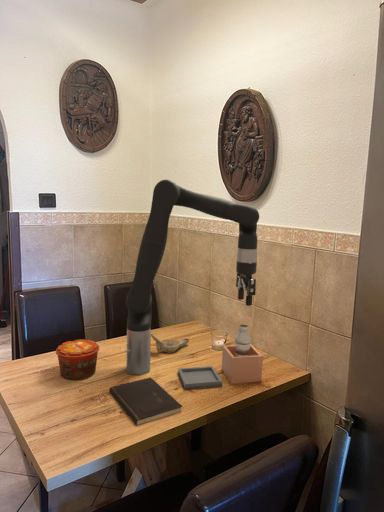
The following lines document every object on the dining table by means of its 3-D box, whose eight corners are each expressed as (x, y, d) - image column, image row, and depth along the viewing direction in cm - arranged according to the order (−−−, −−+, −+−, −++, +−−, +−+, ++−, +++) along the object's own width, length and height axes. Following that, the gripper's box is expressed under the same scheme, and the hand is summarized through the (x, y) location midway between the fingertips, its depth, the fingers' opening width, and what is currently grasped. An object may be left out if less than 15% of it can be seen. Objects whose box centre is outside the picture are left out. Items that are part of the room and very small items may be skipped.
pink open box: (231, 383, 139) (232, 358, 138) (221, 369, 151) (222, 345, 149) (261, 381, 142) (262, 356, 141) (249, 367, 154) (251, 344, 152)
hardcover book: (150, 382, 139) (150, 377, 139) (182, 412, 120) (182, 406, 120) (109, 393, 131) (109, 387, 130) (136, 427, 112) (136, 420, 111)
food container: (47, 376, 141) (46, 348, 140) (78, 360, 155) (77, 336, 154) (78, 386, 134) (78, 358, 132) (108, 369, 148) (108, 343, 146)
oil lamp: (145, 352, 166) (146, 331, 164) (183, 342, 180) (183, 322, 178) (157, 359, 159) (157, 336, 158) (194, 347, 173) (195, 326, 172)
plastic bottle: (248, 371, 149) (251, 323, 147) (249, 379, 143) (252, 329, 140) (232, 370, 150) (234, 322, 147) (232, 378, 143) (235, 328, 141)
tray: (184, 389, 134) (184, 384, 134) (178, 373, 146) (178, 368, 146) (222, 386, 137) (222, 381, 137) (212, 370, 150) (212, 365, 149)
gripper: (231, 257, 146) (229, 297, 148) (243, 263, 132) (241, 307, 135) (249, 257, 148) (247, 297, 150) (263, 263, 134) (261, 307, 136)
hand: (244, 302), depth 142 cm, fingers open, 8 cm apart
